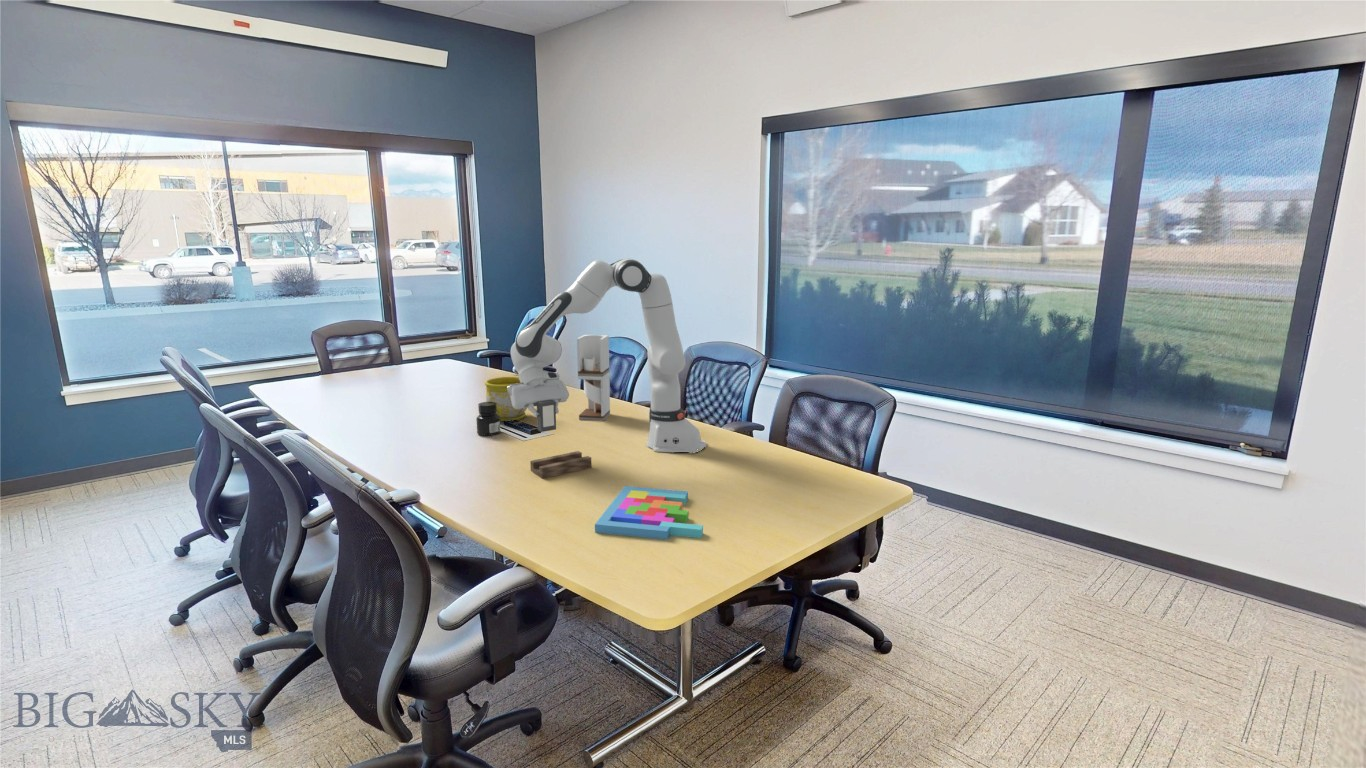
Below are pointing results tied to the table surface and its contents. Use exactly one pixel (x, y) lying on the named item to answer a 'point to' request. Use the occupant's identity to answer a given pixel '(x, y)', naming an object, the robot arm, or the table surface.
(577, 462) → the display ledge
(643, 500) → the tetris game
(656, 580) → the table surface
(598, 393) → the rack with curved panels
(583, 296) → the robot arm
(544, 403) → the dark grey rectangular block
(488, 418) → the ink bottle
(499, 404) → the flowerpot
